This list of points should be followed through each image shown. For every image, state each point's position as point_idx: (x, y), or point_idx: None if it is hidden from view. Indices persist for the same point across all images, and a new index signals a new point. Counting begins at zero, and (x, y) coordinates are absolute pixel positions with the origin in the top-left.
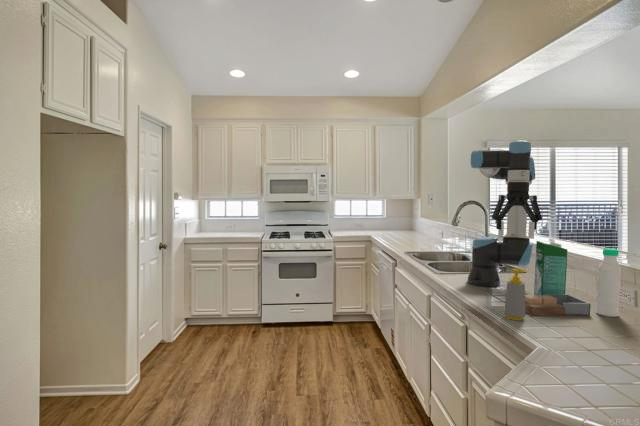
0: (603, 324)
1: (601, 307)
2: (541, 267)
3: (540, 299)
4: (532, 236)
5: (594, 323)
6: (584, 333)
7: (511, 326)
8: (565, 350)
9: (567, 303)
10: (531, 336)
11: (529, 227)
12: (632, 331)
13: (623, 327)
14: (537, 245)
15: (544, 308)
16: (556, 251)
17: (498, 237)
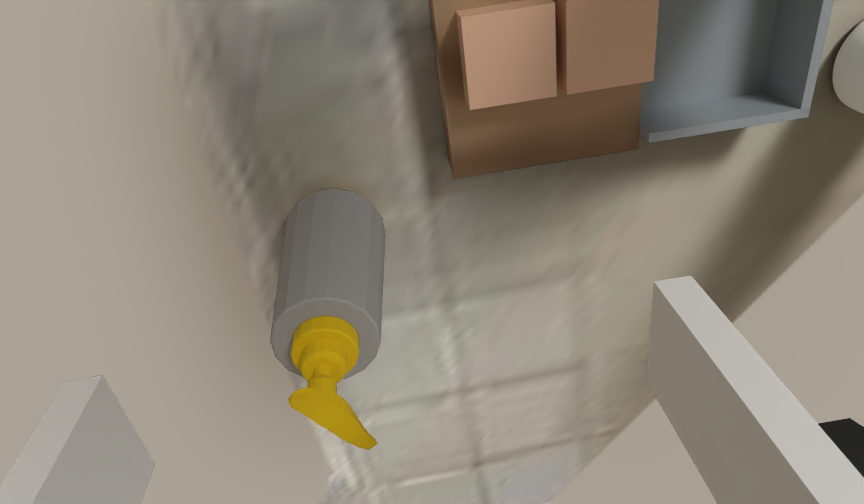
0: (717, 226)
1: (860, 95)
2: None
3: (542, 97)
4: (670, 409)
5: (686, 221)
6: (555, 344)
7: None
8: (406, 479)
9: (669, 138)
10: None
11: (774, 476)
12: (765, 284)
13: (772, 246)
14: None
15: (518, 165)
16: None
17: (70, 393)
